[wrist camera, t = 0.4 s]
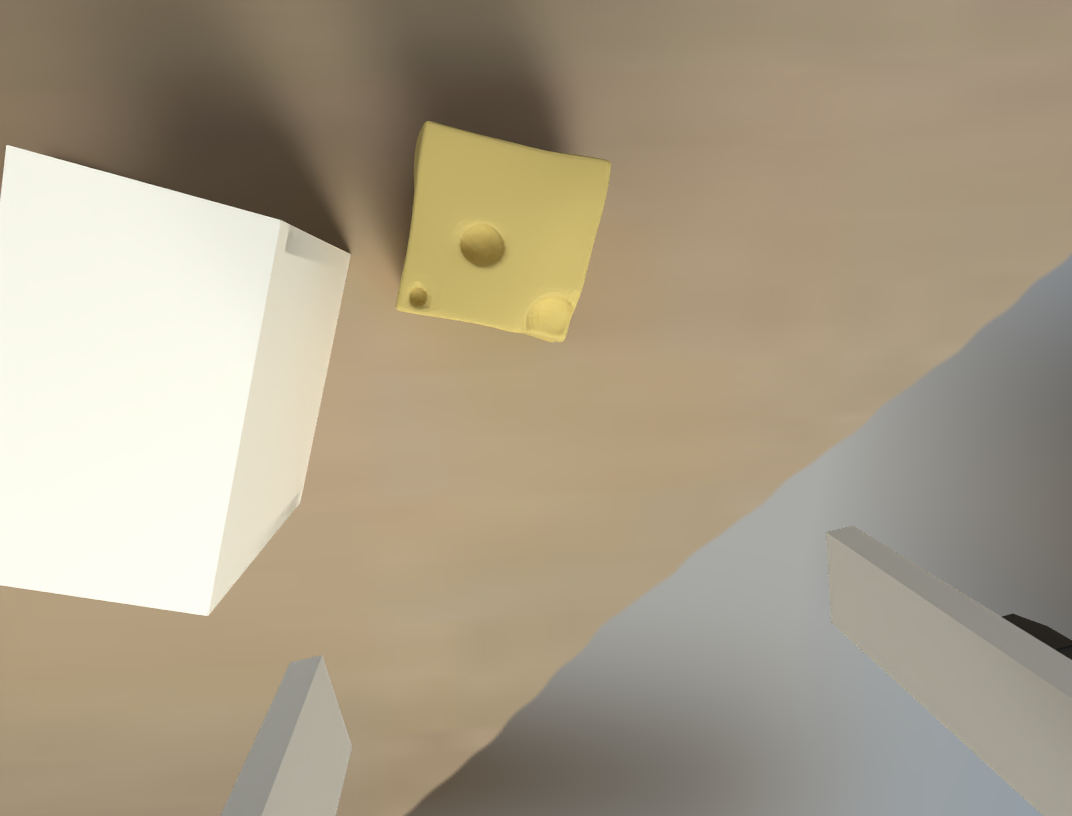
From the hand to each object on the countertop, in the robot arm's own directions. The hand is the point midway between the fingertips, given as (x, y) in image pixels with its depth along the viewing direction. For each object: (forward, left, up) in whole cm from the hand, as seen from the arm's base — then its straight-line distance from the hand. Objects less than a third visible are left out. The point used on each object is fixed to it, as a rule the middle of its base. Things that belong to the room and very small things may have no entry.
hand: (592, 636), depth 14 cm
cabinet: (-11, -19, -27) cm, 35 cm away
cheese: (-12, +2, -28) cm, 30 cm away
